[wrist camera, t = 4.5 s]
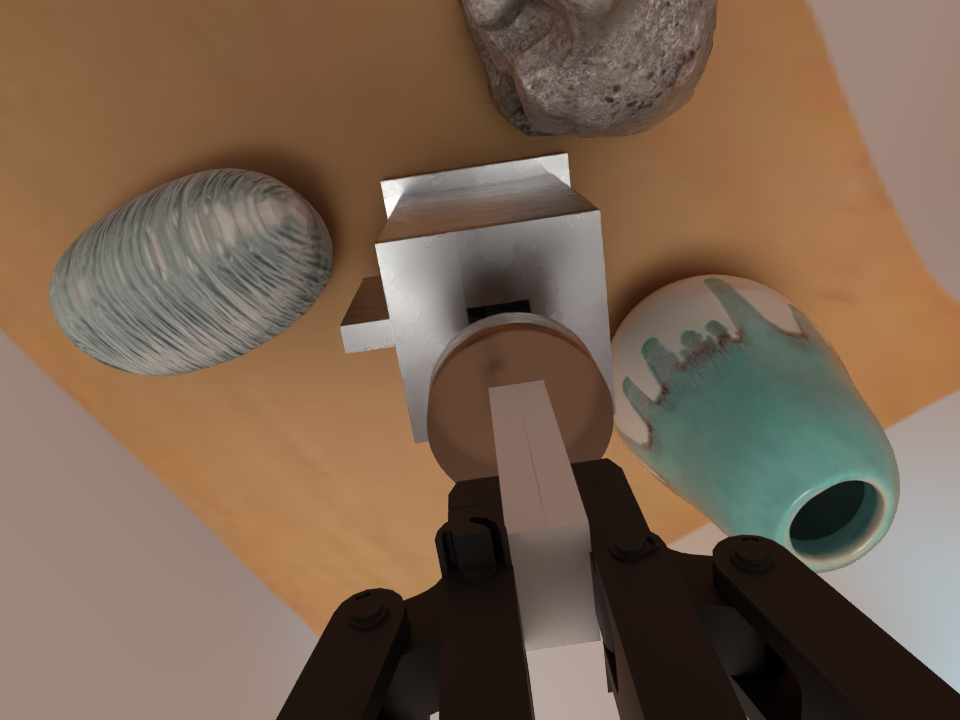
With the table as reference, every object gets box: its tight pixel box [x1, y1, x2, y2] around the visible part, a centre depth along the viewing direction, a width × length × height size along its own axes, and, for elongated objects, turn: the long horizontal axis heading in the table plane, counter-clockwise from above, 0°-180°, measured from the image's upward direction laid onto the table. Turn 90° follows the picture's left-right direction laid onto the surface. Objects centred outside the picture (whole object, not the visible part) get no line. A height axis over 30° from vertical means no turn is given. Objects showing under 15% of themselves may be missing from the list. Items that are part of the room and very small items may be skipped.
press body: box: [340, 152, 616, 443], centre depth 32 cm, size 10×12×14 cm
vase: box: [611, 274, 900, 573], centre depth 33 cm, size 12×12×18 cm
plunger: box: [426, 299, 614, 483], centre depth 25 cm, size 6×6×13 cm
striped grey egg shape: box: [49, 168, 333, 376], centre depth 34 cm, size 14×10×10 cm
